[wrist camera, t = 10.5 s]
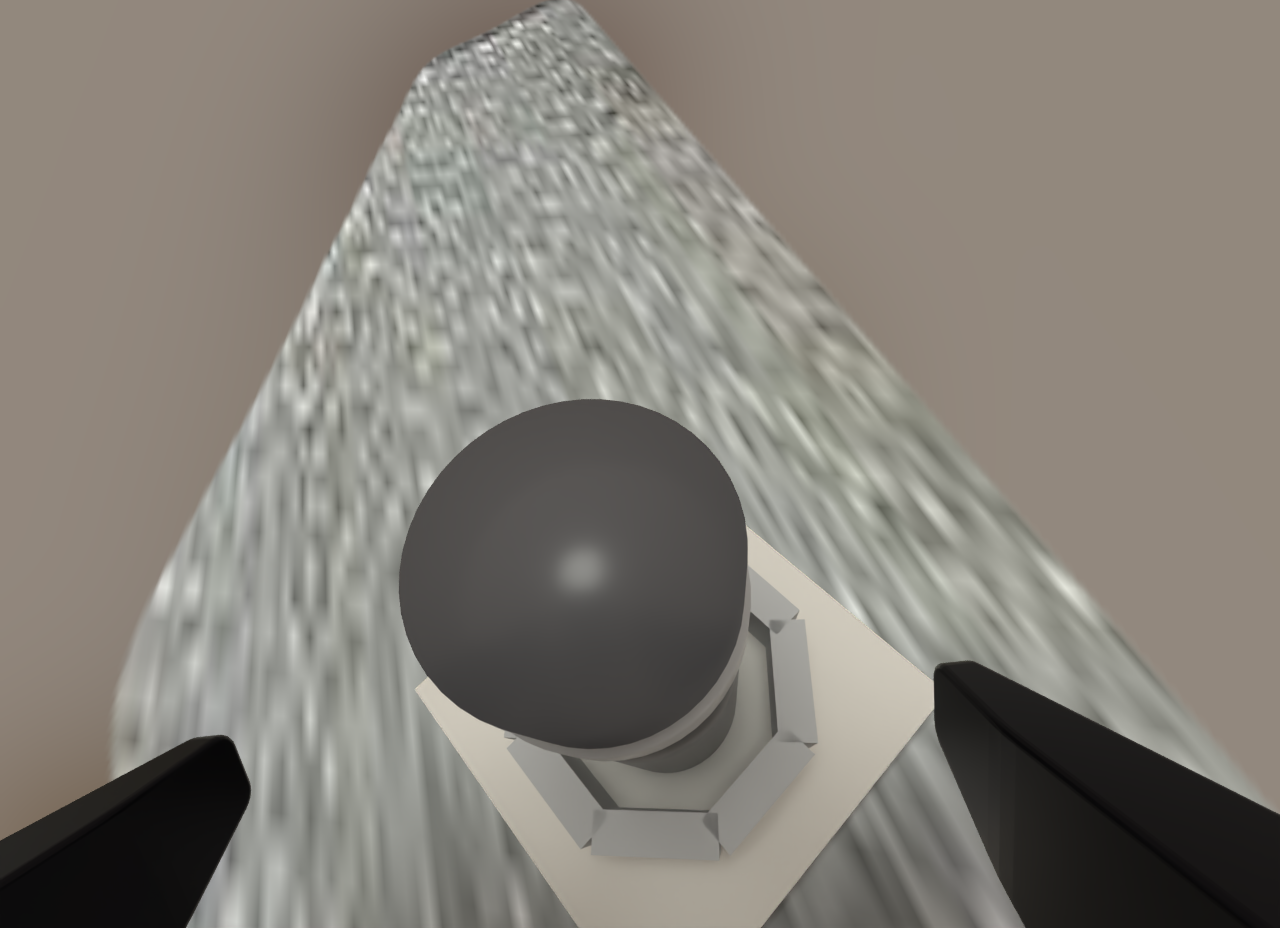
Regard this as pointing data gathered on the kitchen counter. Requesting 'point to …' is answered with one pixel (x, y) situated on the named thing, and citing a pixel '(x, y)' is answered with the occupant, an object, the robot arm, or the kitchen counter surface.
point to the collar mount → (714, 773)
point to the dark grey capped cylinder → (584, 585)
